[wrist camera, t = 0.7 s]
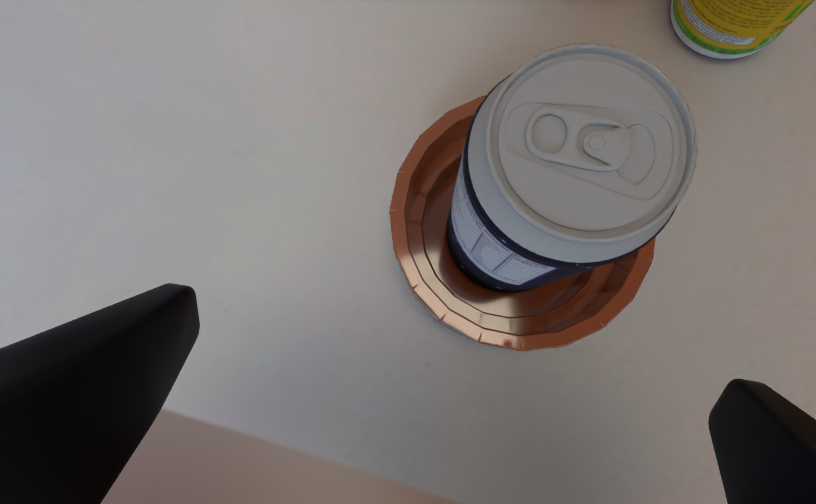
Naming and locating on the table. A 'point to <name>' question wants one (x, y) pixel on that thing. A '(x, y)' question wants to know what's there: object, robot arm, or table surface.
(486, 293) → the bowl
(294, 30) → the table surface
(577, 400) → the table surface
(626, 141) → the beverage can
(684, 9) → the supplement bottle
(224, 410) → the table surface
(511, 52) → the table surface
